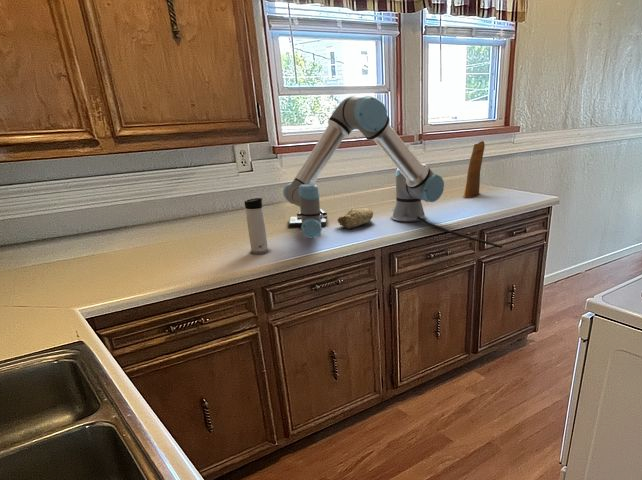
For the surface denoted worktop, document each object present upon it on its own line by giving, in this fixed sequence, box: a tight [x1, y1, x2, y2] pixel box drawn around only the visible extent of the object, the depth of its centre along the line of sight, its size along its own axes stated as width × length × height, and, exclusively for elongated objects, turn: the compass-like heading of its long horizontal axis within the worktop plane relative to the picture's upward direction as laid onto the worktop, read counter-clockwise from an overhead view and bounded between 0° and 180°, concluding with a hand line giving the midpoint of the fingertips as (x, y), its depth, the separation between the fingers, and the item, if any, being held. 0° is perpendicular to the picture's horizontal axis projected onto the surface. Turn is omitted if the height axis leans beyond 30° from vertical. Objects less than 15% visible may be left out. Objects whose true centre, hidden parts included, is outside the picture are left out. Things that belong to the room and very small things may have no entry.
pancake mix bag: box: [463, 140, 486, 199], centre depth 284 cm, size 7×19×28 cm, turn 148°
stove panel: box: [289, 216, 327, 229], centre depth 236 cm, size 16×14×2 cm
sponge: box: [336, 207, 374, 230], centre depth 233 cm, size 13×8×20 cm
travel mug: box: [244, 197, 269, 255], centre depth 193 cm, size 6×7×20 cm
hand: (312, 207), depth 233 cm, fingers closed
